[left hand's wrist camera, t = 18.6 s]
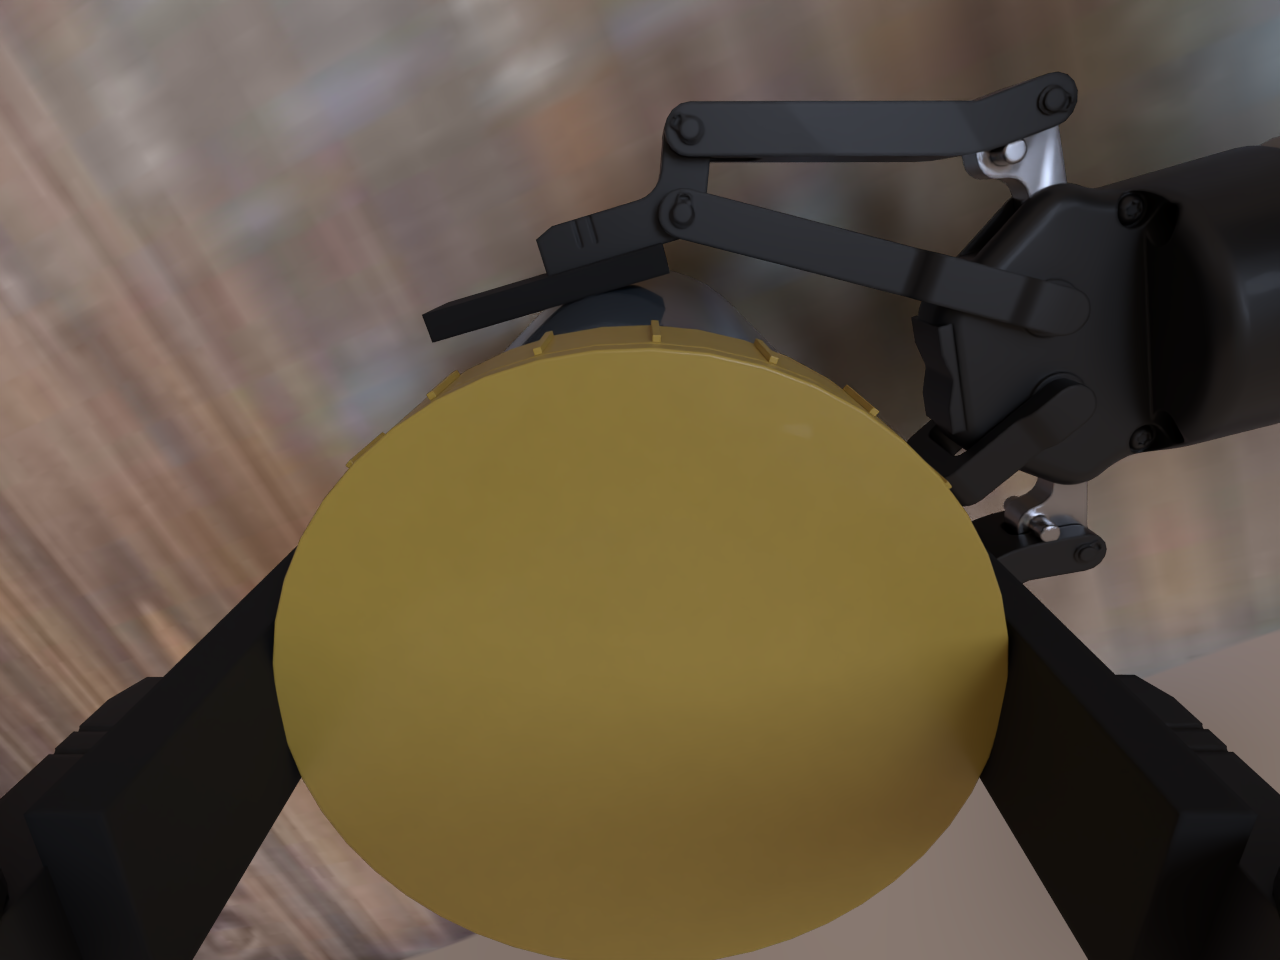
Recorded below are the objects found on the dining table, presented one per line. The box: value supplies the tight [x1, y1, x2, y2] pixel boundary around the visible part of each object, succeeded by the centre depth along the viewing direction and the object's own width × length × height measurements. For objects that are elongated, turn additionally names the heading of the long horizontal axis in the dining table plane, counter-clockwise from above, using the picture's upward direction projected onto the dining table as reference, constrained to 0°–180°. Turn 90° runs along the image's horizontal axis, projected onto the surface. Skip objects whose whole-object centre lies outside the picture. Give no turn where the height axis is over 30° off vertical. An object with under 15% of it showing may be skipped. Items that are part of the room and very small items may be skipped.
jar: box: [503, 270, 778, 353], centre depth 20 cm, size 10×10×18 cm
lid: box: [273, 320, 1008, 960], centre depth 11 cm, size 11×11×2 cm
